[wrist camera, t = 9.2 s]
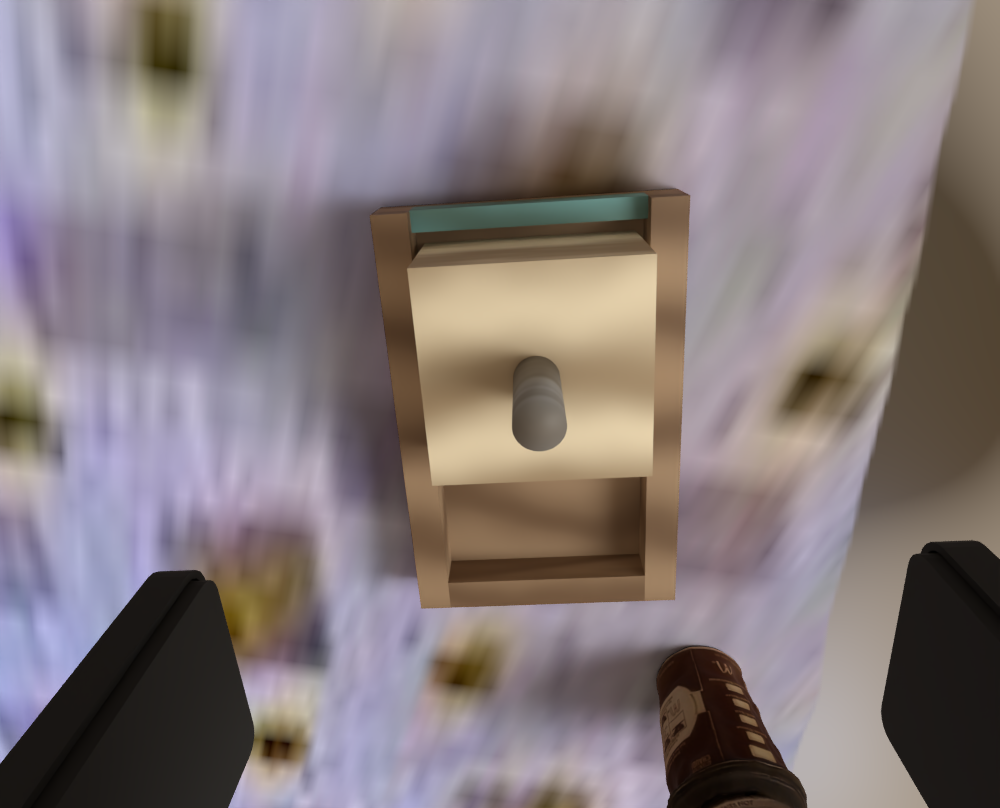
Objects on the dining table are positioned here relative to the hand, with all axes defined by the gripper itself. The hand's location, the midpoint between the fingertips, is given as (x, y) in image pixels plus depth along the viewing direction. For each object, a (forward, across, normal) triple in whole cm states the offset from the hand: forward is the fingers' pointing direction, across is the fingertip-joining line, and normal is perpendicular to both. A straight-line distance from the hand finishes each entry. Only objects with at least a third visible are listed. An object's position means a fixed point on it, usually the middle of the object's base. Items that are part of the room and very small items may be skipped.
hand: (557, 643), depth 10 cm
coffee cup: (+34, -11, +34) cm, 50 cm away
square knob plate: (+34, 0, +6) cm, 35 cm away
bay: (+34, 0, +11) cm, 36 cm away
